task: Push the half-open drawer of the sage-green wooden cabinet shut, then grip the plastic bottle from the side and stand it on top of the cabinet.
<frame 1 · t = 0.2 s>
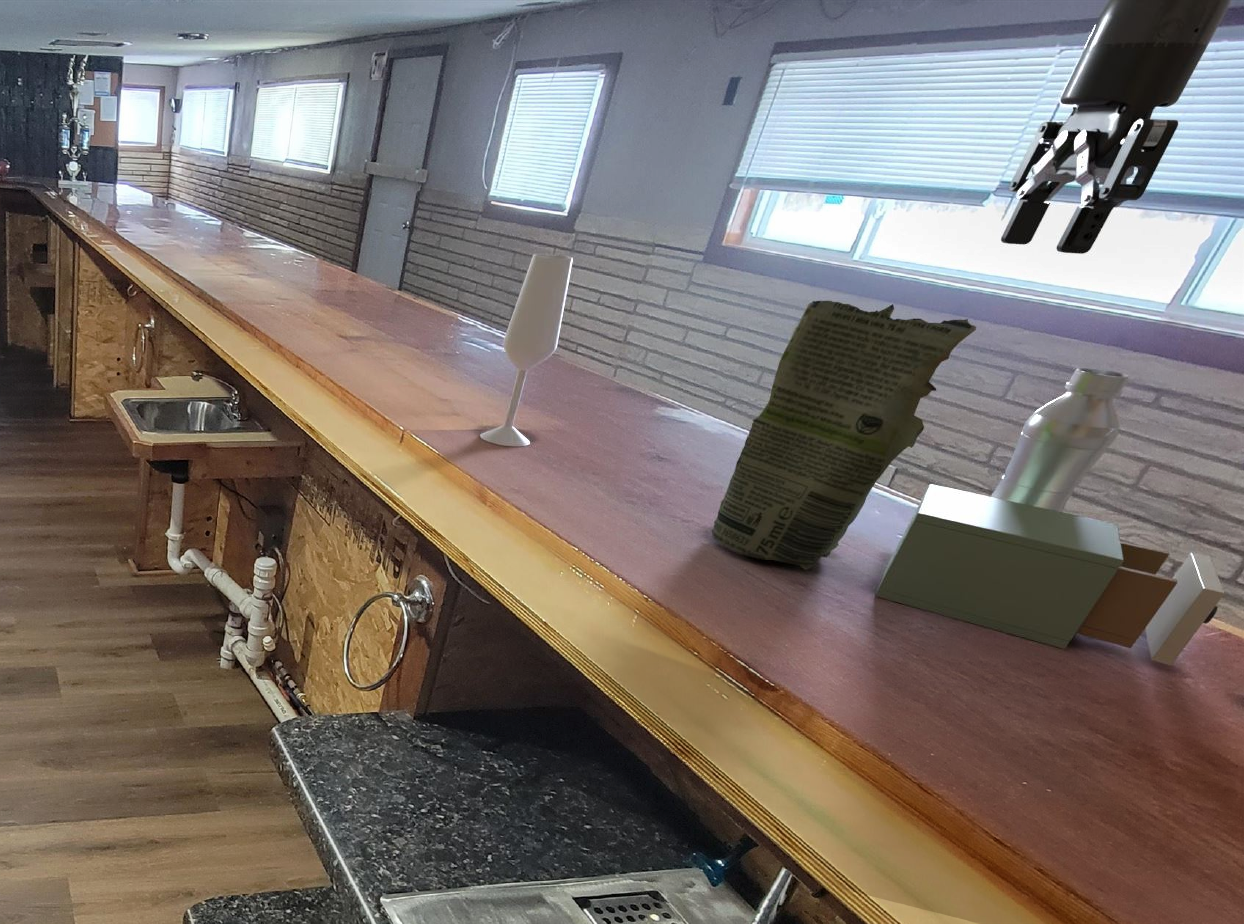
hand: (1041, 248, 84), 30 cm above the counter, tool pointing down, fingers open, 8 cm apart
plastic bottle: (988, 567, 93), on the counter
cabinet: (968, 601, 85), on the counter
drawer: (1100, 587, 79), point 4 cm above the counter, slide at 5.0 cm
pouch: (773, 554, 94), on the counter
champagne flute: (504, 440, 126), on the counter
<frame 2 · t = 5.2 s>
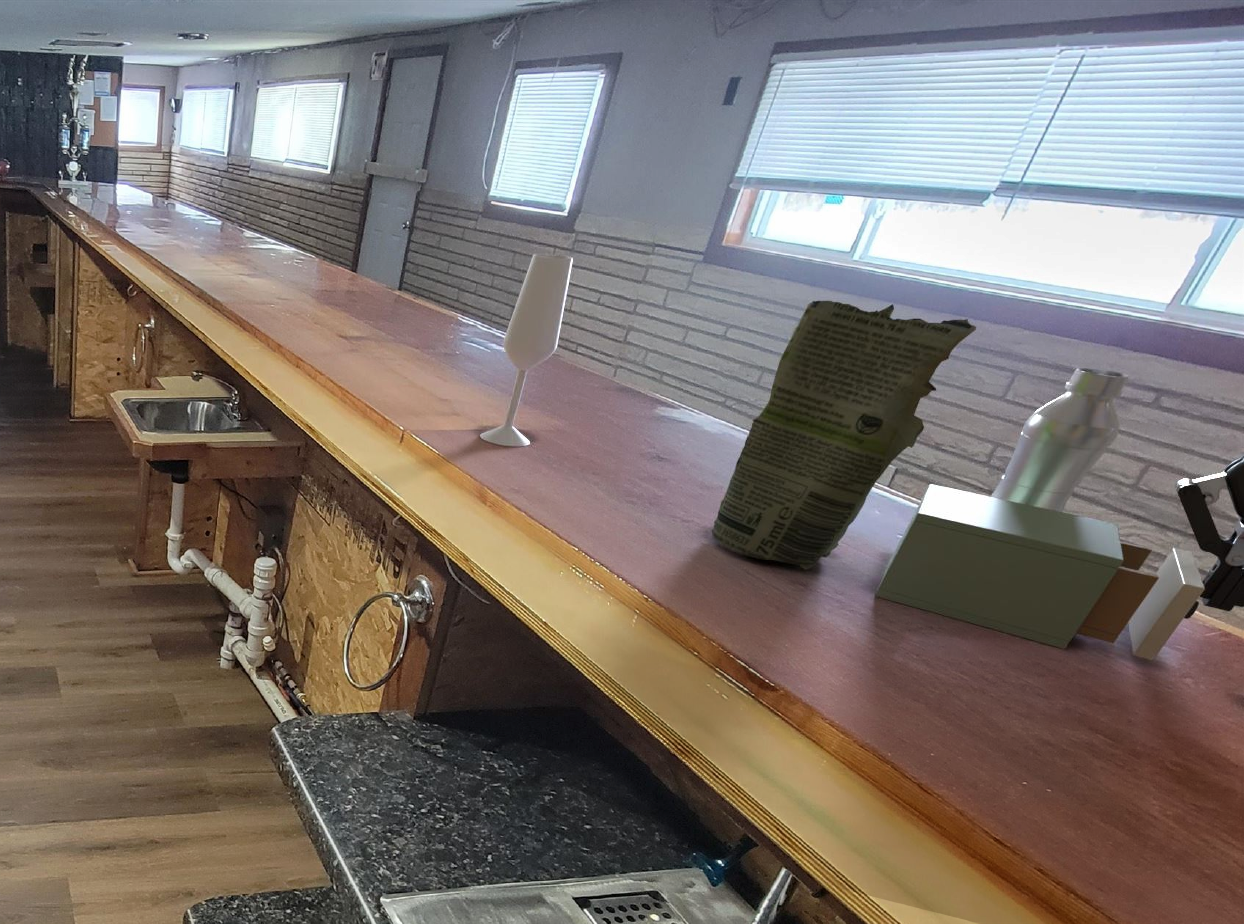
hand: (1214, 605, 74), 5 cm above the counter, tool pointing down, fingers closed
drawer: (1083, 583, 79), point 4 cm above the counter, slide at 3.9 cm, touching gripper
everything else where it was.
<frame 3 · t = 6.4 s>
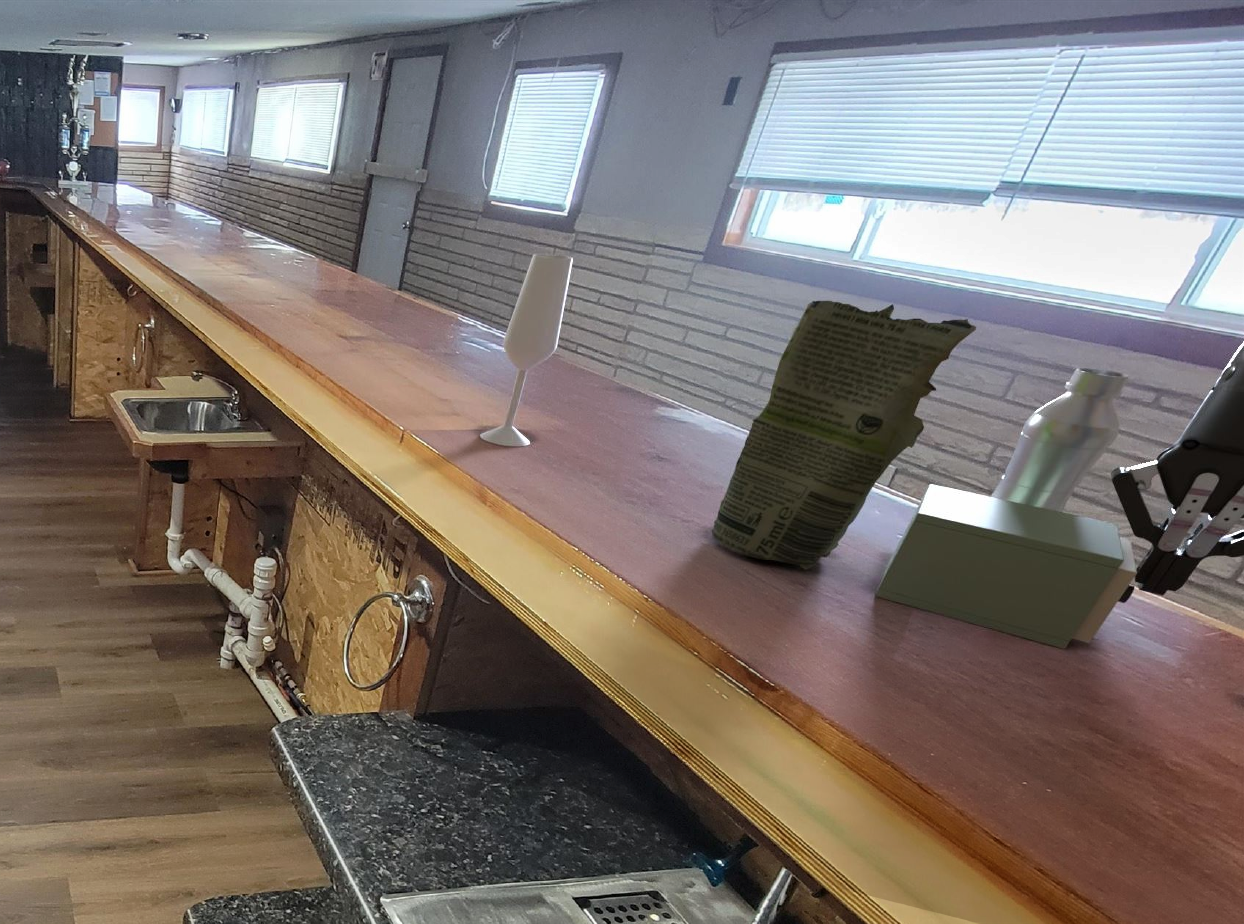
hand: (1149, 590, 77), 5 cm above the counter, tool pointing down, fingers closed
drawer: (1025, 569, 82), point 4 cm above the counter, slide at 0.0 cm, touching cabinet, gripper
everything else where it was.
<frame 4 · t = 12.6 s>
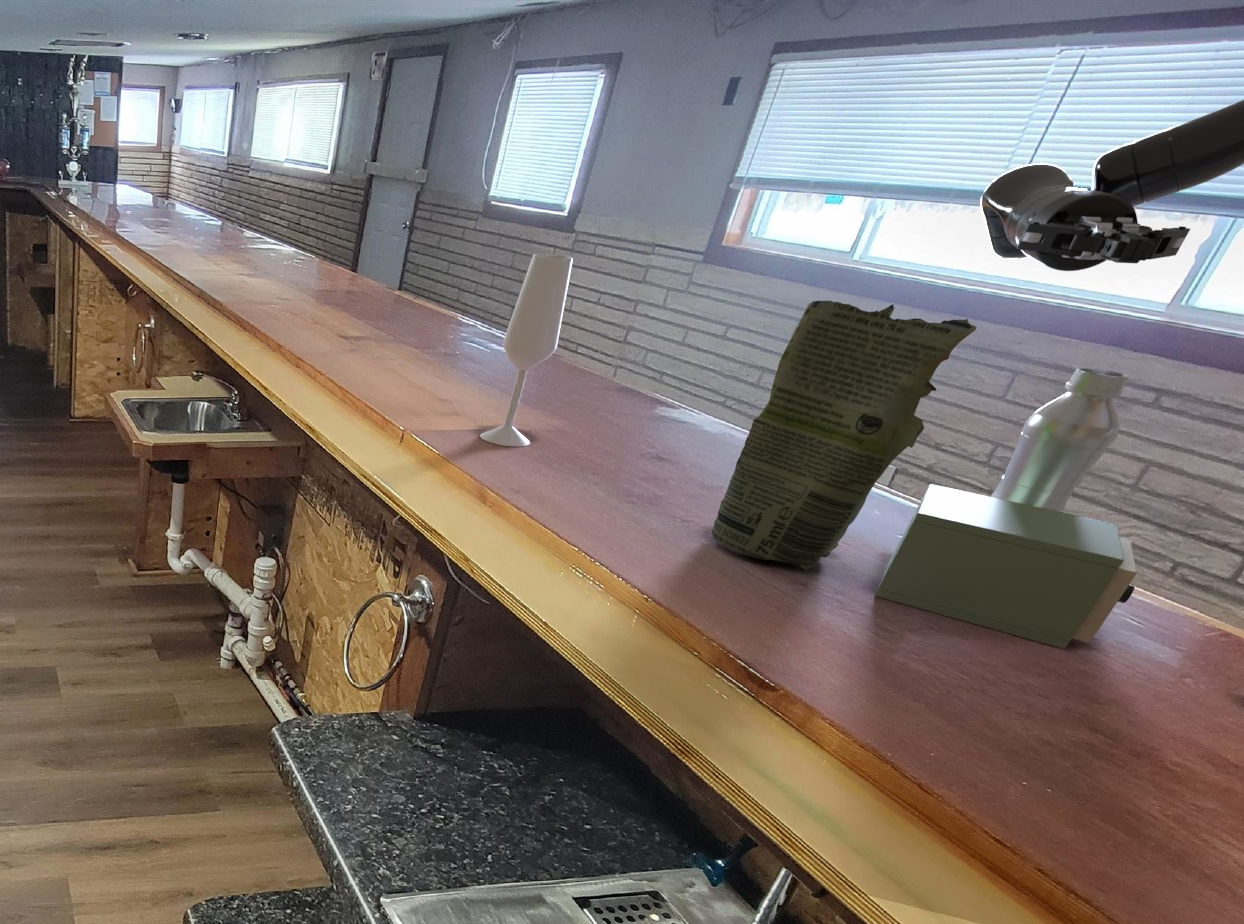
hand: (1134, 251, 84), 30 cm above the counter, tool horizontal, fingers closed
drawer: (1025, 569, 82), point 4 cm above the counter, slide at 0.0 cm
everything else where it was.
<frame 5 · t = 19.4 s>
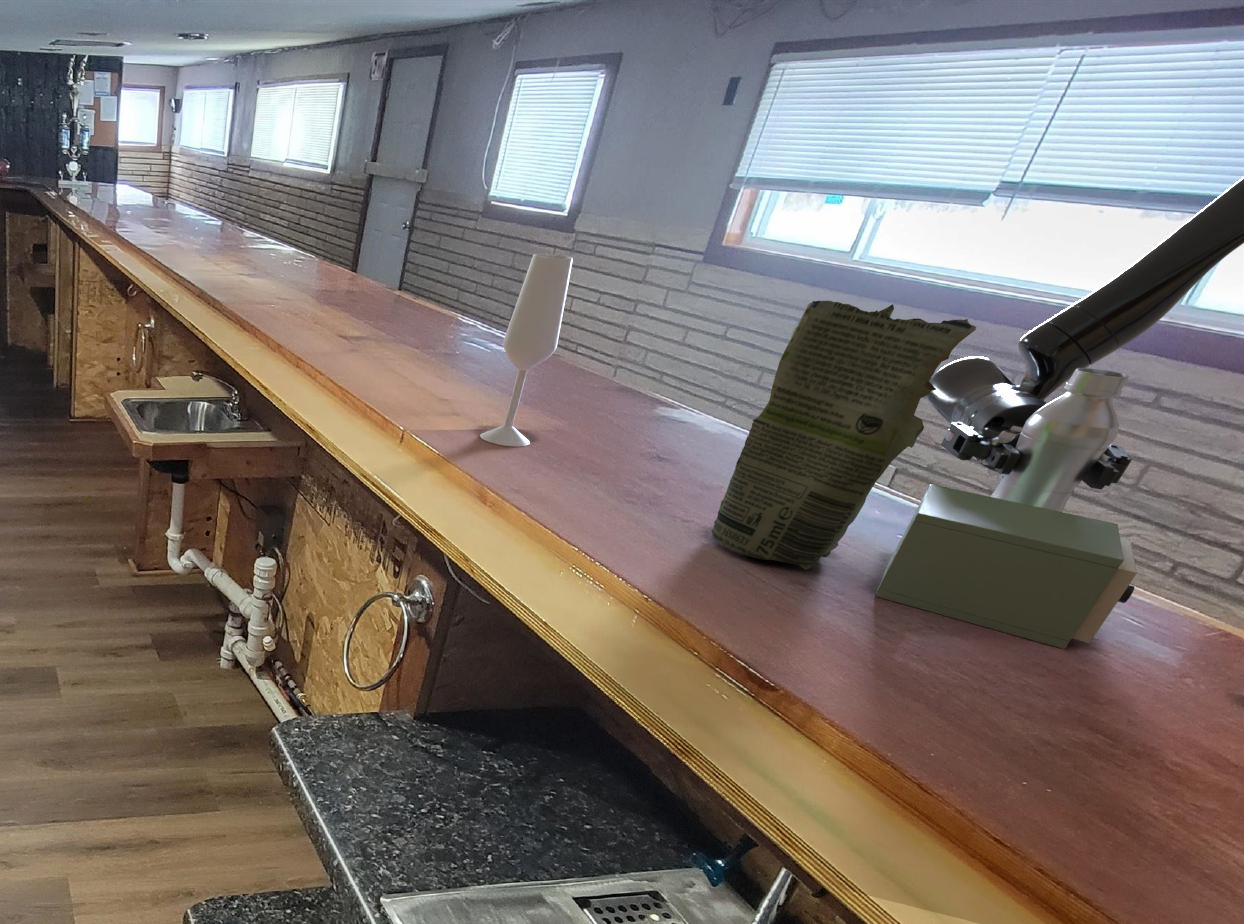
hand: (1055, 471, 86), 11 cm above the counter, tool horizontal, fingers closed on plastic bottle, 6 cm apart
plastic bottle: (988, 567, 93), on the counter, touching gripper
everything else where it was.
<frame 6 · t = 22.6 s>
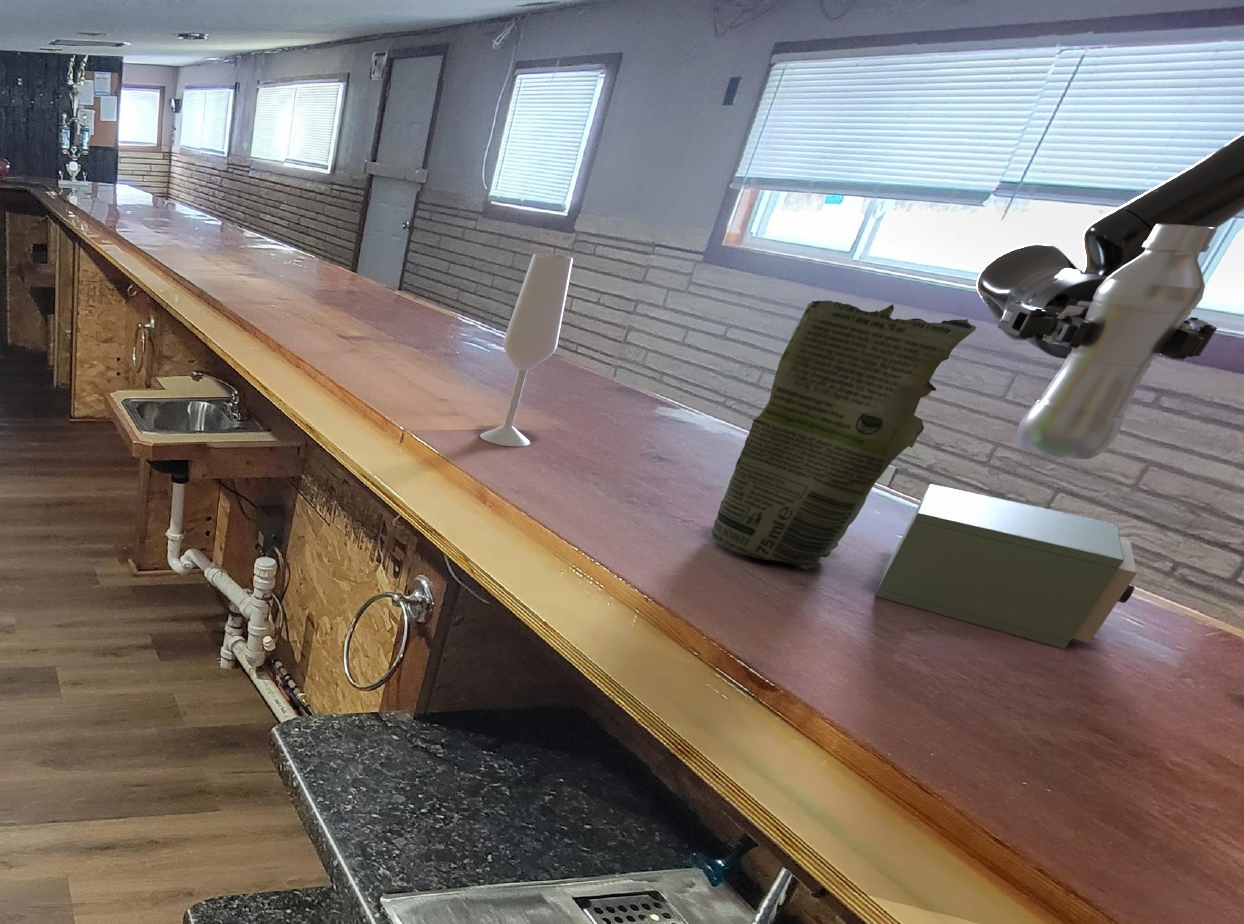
hand: (1131, 341, 77), 24 cm above the counter, tool horizontal, fingers closed on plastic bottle, 6 cm apart
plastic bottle: (1050, 457, 85), point 12 cm above the counter, touching gripper
everything else where it was.
when the fingers open (20 cm above the counter, at t = 25.8 s): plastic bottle stays where it is, resting on cabinet.
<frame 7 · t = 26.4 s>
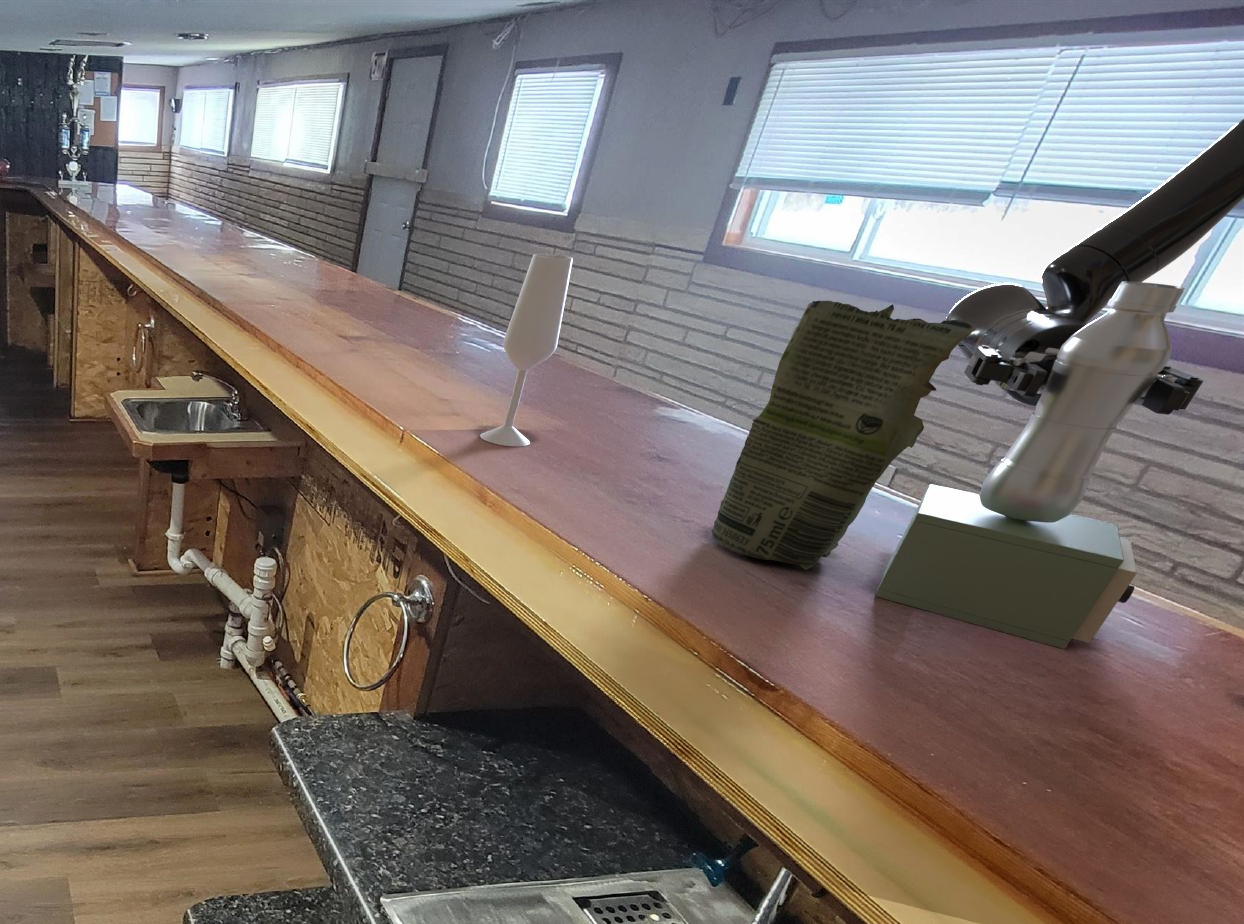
hand: (1102, 393, 73), 20 cm above the counter, tool horizontal, fingers open, 8 cm apart
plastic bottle: (1014, 519, 81), point 8 cm above the counter, touching cabinet
everything else where it was.
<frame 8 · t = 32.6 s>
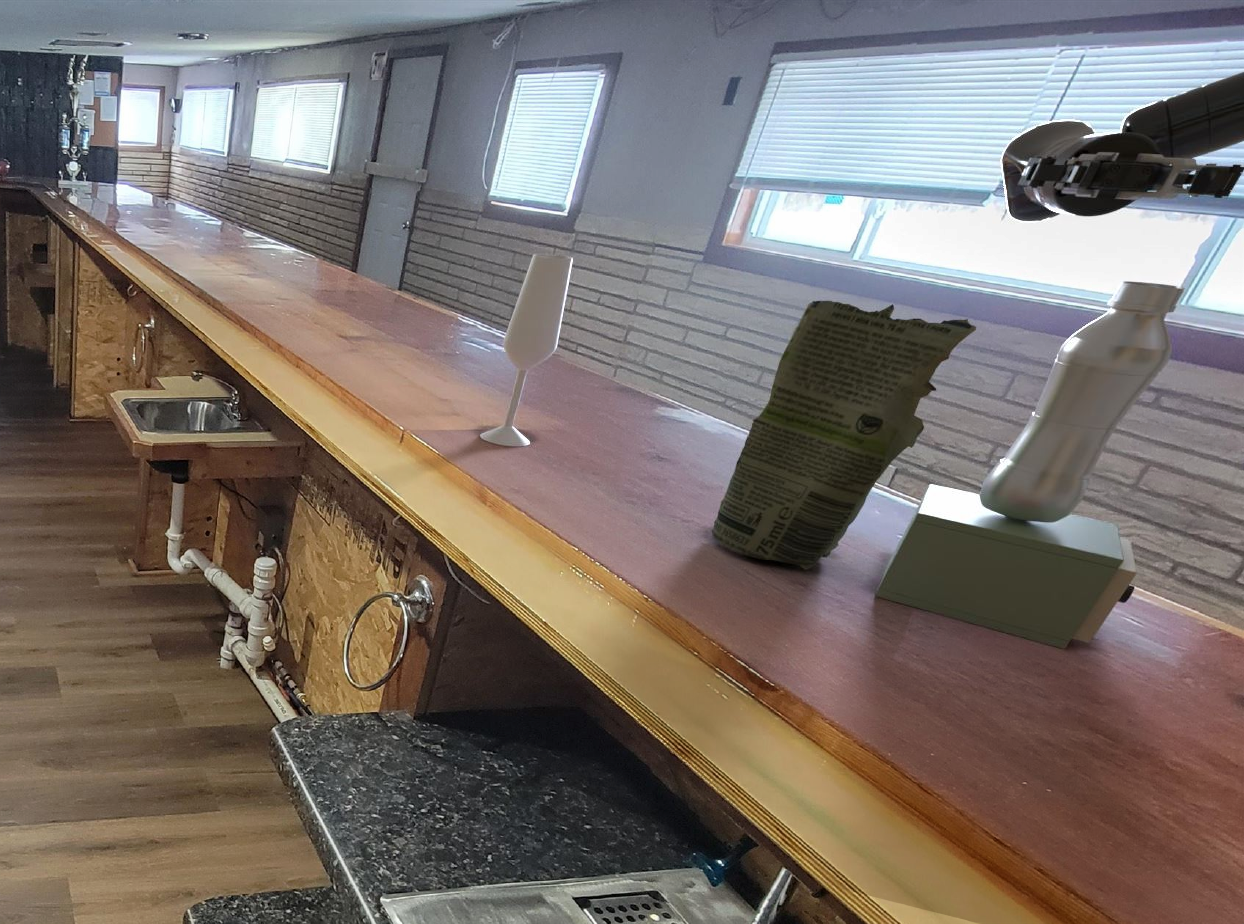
hand: (1152, 178, 80), 36 cm above the counter, tool horizontal, fingers open, 8 cm apart
nothing on the counter moved.
at the end: drawer slide at 0.0 cm; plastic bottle inside the target area on the cabinet (0.1 cm from its centre), point 8.4 cm above the cabinet's base; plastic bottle tilted 0° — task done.
